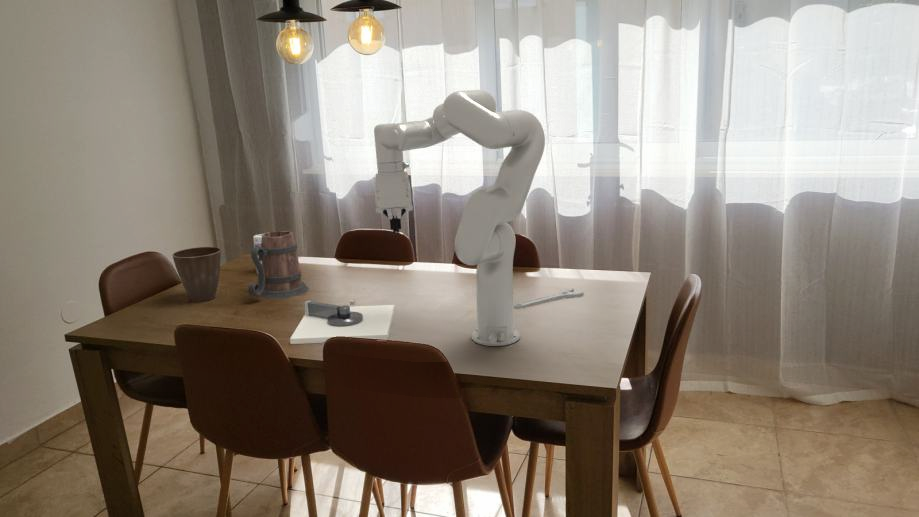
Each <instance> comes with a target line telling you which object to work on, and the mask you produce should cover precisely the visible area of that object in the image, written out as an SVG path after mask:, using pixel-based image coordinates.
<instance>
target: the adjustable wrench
mask: <svg viewBox="0 0 919 517" xmlns="http://www.w3.org/2000/svg"><path fill="white" fill-rule="evenodd" d="M581 296H582V297H584V290H583V289H582V290H581V289H580V290H579V291H574V288H565V289H562V290H561V289H560V291H559V292H557V293H554V294H552V295H551V294H550V295H546V296H542V297H537V298H534V299H529V300H525V301H522V302H517V303H513V309H515V308H516V309H515V310H522V309H526V307H527V308H530V306H531V307H533V306H534V305H535V306H539V305H542V303H543V304H545V303H546V302H547V303H549V302H550V301H551V302H555V301H559V300H562V299H563V298H565V299H574V298H573V297H579V298H582V297H581ZM558 299H559V300H558ZM563 300H564V299H563ZM551 302H550V303H551ZM538 304H539V305H538ZM521 308H522V309H521Z"/></svg>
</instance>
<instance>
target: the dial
mask: <svg viewBox="0 0 919 517" xmlns="http://www.w3.org/2000/svg"><path fill="white" fill-rule="evenodd" d="M303 303H304V313H305V314H306V315H313V316H319V317H325V318H327V320H328V324H330V325H332V326H350V325H355V324H358V323H360V322H361V321H362V320H363V315H362V314H361V313H359V312H351V311H350V307H351V305H338V304H337V305H336V304H331V303H325V302H319V301H313V300H307V301H304V302H303ZM305 314H304V315H305Z"/></svg>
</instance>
